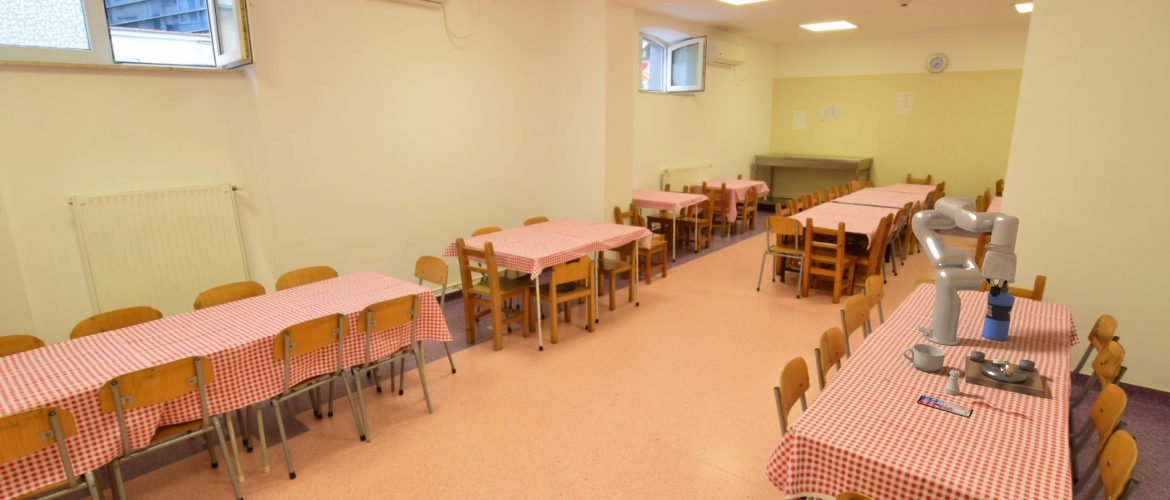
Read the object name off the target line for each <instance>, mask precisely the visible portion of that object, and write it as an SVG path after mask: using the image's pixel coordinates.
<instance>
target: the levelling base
mask: <svg viewBox="0 0 1170 500" xmlns="http://www.w3.org/2000/svg"><path fill="white" fill-rule="evenodd" d="M964 359H965V360H964V369H965V370H964V372H965V373H964V376H965V377H964V379H965V383H967V384H972V385H977V386H981V387H987V388H992V389H997V390H1002V391H1006V392H1012V393H1016V394H1020V395H1021V394H1022V395H1027V396H1032V397H1037V398H1042V399H1044V395H1045V388H1044V386H1043V382H1042V379H1041V377H1040V374H1039V373H1040V372H1039V371H1038V368H1036V367H1035V365H1036V362H1034V361H1033V360H1031V359H1030V360H1029V359H1020V360H1019V364H1015V363H1011V362H1010V361H1007V360H1006V359H1001V358H999V359H998V358H995V359H987V358H986V354H985V353H984V352H982V351H977V350H971V352H970V356H969V355H965V358H964ZM985 363H999V364H1012V365H1014V367H1016V368H1018V369H1021V370H1022V371H1024V372H1025V373H1026V374H1027V377H1026V381H1025V382H1024V383H1019V384H1014V383H1006V382H1001V381H997V380H994V379H991V378H989V377H987V376H985V375H984V374H982V372H981V369H982V365H983V364H985Z"/></svg>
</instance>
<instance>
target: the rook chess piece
mask: <svg viewBox="0 0 1170 500" xmlns="http://www.w3.org/2000/svg"><path fill="white" fill-rule="evenodd" d="M948 373H949V375H950V376H949V381H948V383H947V384H946V385H945V387H944V392H946V393H947V394H948V395H953V396H958V395H960V392H961V389H960V387H959V379H960V378H959V377H960V376H961V372H960V371H959V370H958V369H951V370H950V371H949V372H948Z"/></svg>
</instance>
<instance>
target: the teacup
mask: <svg viewBox="0 0 1170 500" xmlns="http://www.w3.org/2000/svg"><path fill="white" fill-rule="evenodd" d="M907 352H910V353H911V357H910V356H908V355H907ZM902 355H903V356H904V357H905V359H907V360H908V361H909V362H910V363H911V364H913V366H915V367H916V368H917V369H918V370H921V371H923V372H930V373H931V372H933V373H934V372H937V371H938V370H940V369H942V368H943V365H944V361H945V356H946V351H945V350H944V349H943V348H941V347H939V346H937V345H932V344H928V343H915V344H913V345H912V348H911V347H905V348H904V349H903V350H902Z"/></svg>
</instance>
